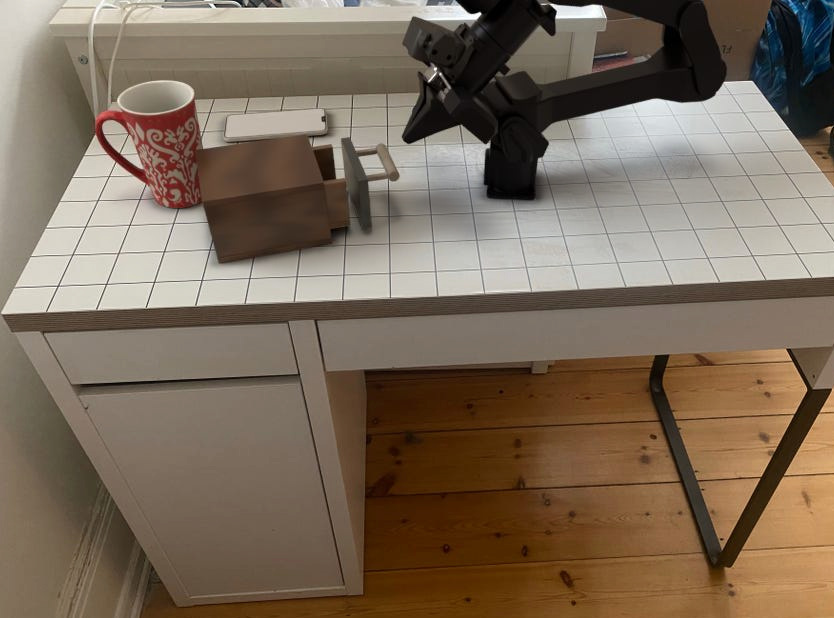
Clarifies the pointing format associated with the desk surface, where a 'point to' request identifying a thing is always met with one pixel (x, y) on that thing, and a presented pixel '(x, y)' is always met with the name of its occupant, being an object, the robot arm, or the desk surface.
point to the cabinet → (263, 197)
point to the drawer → (351, 181)
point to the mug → (160, 139)
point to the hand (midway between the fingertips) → (404, 141)
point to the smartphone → (275, 124)
